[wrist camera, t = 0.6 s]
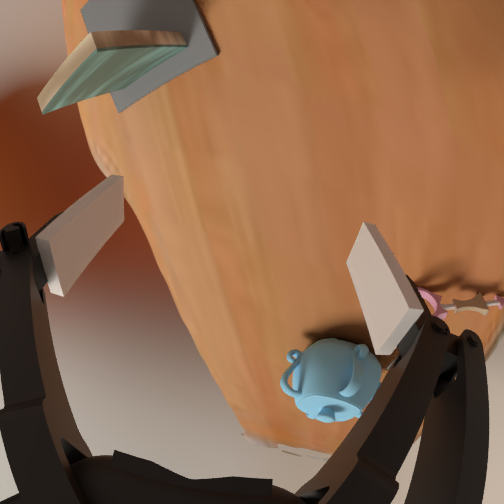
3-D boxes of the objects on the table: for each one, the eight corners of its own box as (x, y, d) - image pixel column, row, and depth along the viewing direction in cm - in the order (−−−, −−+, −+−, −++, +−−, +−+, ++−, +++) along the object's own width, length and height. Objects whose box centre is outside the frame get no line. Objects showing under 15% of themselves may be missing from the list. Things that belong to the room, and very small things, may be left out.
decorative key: (500, 287, 31) (397, 293, 36) (503, 282, 31) (398, 287, 35) (516, 317, 26) (405, 329, 31) (519, 311, 25) (407, 323, 30)
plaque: (119, 75, 31) (37, 97, 20) (181, 32, 25) (90, 31, 15) (124, 88, 32) (42, 114, 21) (187, 47, 26) (97, 51, 16)
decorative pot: (379, 325, 41) (371, 399, 31) (384, 376, 48) (376, 436, 38) (289, 330, 50) (264, 394, 39) (311, 376, 57) (293, 431, 46)
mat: (83, 9, 25) (80, 9, 24) (164, -60, 16) (162, -61, 16) (121, 112, 35) (118, 113, 35) (218, 55, 26) (216, 55, 26)
